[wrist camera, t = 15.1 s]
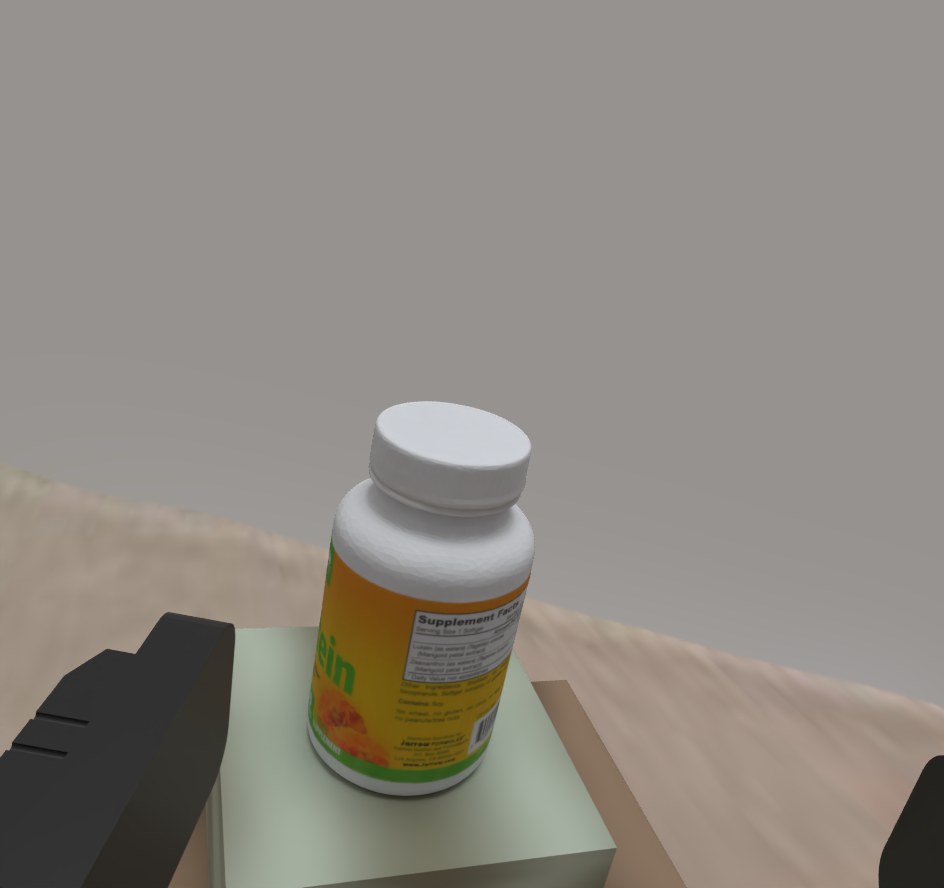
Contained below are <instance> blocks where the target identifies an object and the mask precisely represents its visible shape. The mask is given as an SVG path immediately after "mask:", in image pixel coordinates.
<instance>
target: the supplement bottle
mask: <svg viewBox="0 0 944 888" xmlns="http://www.w3.org/2000/svg"><path fill="white" fill-rule="evenodd" d="M530 454H531V444H530V441H529V439H528V437H527V436H526V434H525V433H524V432H523V431H522V430H521V429H519V428H518V427H517V426H515V425H514V424H512V423H511V422H509V421H507V420H505V419H503V418H500V417H499V416H496V415H494V414H492V413H489V412H486V411H483V410H480V409H476V408H472V407H468V406H463V405H458V404H452V403H443V402H433V401H432V402H431V401H428V402H427V401H423V402H422V401H420V402H409V403H403V404H398V405H395V406H392V407H390V408H388V409H386V410H385V411H383V412H382V413H381V414H380V415H379V416H378V419H377V421H376V424H375V430H374V435H373V441H372V447H371V453H370V463H369V474H370V477H371V478H369V479H367V480H365V481H363V482H361V483H360V484H358V485H356V486H355V487H354V488H353V489H351V490H350V491H349V492H348V493H347V494H346V495H345V497H344V498H343V500H342V501H341V502H340V504H339V506H338V508H337V511H336V514H335V518H334V524H333V529H332V536H331V543H330V550H329V559H328V566H327V573H326V581H325V588H324V596H323V603H322V611H321V618H320V625H319V632H318V639H317V646H316V653H315V660H314V668H313V675H312V682H311V688H310V695H309V704H308V716H307V723H308V731H309V735H310V738H311V741H312V743H313V745H314V747H315V749H316V751H317V752H318V754H319V755H320V757H321V758H322V759H323V760H324V762H325V763H326V764H327V765H328V766H329V767H330V768H332V769H333V770H334V771H335V772H337V773H338V774H339V775H341V776H342V777H344V778H345V779H347V780H349V781H351V782H353V783H354V784H356V785H358V786H361V787H364V788H366V789H369V790H372V791H375V792H379V793H383V794H388V795H400V796H412V795H423V794H429V793H433V792H437V791H441V790H444V789H446V788H449V787H451V786H453V785H455V784H457V783H459V782H460V781H462V780H463V779H464V778H466V777H467V776H468V775H470V774H471V773H472V772H473V771H474V770H475V769H476V768H477V766H478V765H479V764H480V762H481V760H482V759H483V757H484V755H485V753H486V750H487V748H488V745H489V741H490V738H491V735H492V731H493V727H494V723H495V719H496V715H497V711H498V707H499V703H500V699H501V695H502V690H503V686H504V682H505V677H506V673H507V669H508V665H509V660H510V656H511V652H512V648H513V644H514V640H515V636H516V632H517V627H518V623H519V619H520V615H521V611H522V607H523V603H524V599H525V595H526V590H527V586H528V582H529V579H530V574H531V569H532V564H533V559H534V553H535V552H534V551H535V542H534V536H533V531H532V528H531V526H530V524H529V522H528V520H527V518H526V516H525V515H524V514H523V512H522V511H521V510H520V509H519V508H518V506H517V505H516V504H515V503H516V502H517V501H518V499H519V497H520V495H521V493H522V491H523V489H524V487H525V482H526V474H527V469H528V464H529V459H530Z"/></svg>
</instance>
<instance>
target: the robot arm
mask: <svg viewBox="0 0 944 888" xmlns="http://www.w3.org/2000/svg"><path fill="white" fill-rule="evenodd" d="M234 651H235V627H234V625H233V624H231V623H226V622H220V621H215V620H209V619H204V618H198V617H193V616H187V615H182V614H176V613H171V612H167V613H165V614H164V615H163V616H162V617H161V618H160V620H159V621H158V622H157V624H156V625H155V627H154V628H153V630H152V631H151V632H150V634H149V635H148V637H147V638H146V640H145V641H144V643H143V644H142V646H141V647H140V648H139V650H138V651H137V653H136V654H132V653H127V652H121V651H116V650H110V649H106V650H104V651H103V652H101V653H100V654H98V655H96V656H95V657H93V658H92V659H90V660H88V661H87V662H85V663H84V664H82V665H81V666H79V667H77V668H76V669H74V670H73V671H71V672H69V673H68V674H66V675H65V676H64V677H63V678H62V679H61V681H60V682H59V683H58V685H57V686H56V687H55V688H54V690H53V691H52V692H51V693H50V695H49V696H48V697H47V699H46V700H45V701H44V702H43V704H42V705H41V706H40V708H39V709H38V710H37V711H36V716H35V718H34V720H33V719H30V720H29V722H28V723H27V724H26V725H25V727H24V728H23V729H22V731H21V732H20V733H19V734H18V736H17V737H16V738H15V739H14V741H13V742H12V747H11V749H10V750H9V751H8V750H6V751H5V752H4V754H3V755H2V756H1V757H0V888H168V886H169V884H170V882H171V880H172V878H173V875H174V873H175V871H176V869H177V866H178V864H179V862H180V860H181V858H182V855H183V853H184V851H185V849H186V846H187V844H188V842H189V840H190V838H191V835H192V833H193V831H194V829H195V826H196V824H197V822H198V820H199V818H200V815H201V813H202V811H203V809H204V806H205V804H206V802H207V800H208V798H209V795H210V793H211V791H212V789H213V786H214V784H215V781H216V778H217V776H218V773H219V770H220V766H221V763H222V759H223V755H224V751H225V747H226V742H227V736H228V728H229V716H230V703H231V690H232V677H233V664H234ZM879 888H944V755H941V756H936V757H934V758H932V759H931V760H930V761H929V762H928V763H927V764H926V766H925V767H924V769H923V771H922V773H921V775H920V777H919V779H918V781H917V783H916V785H915V787H914V789H913V791H912V793H911V795H910V797H909V799H908V801H907V803H906V805H905V807H904V809H903V811H902V813H901V815H900V817H899V819H898V821H897V823H896V825H895V827H894V829H893V831H892V833H891V835H890V837H889V839H888V841H887V843H886V845H885V847H884V850H883V852H882V855H881V859H880V865H879Z"/></svg>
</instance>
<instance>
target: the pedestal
mask: <svg viewBox="0 0 944 888" xmlns="http://www.w3.org/2000/svg"><path fill="white" fill-rule="evenodd" d="M318 632H319V627H284V628H246V629H235V651H234V664H233V677H232V690H231V703H230V716H229V728H228V736H227V742H226V747H225V751H224V755H223V759H222V763H221V766H220V770H219V773H218V776H217V778H216V781H215V784H214V786H213V789H212V791H211V793H210V795H209V798H208V800H207V802H206V804H205V806H204V809H203V811H202V813H201V815H200V818H199V820H198V822H197V824H196V826H195V829H194V831H193V833H192V835H191V838H190V840H189V842H188V844H187V846H186V849H185V851H184V853H183V855H182V858H181V860H180V862H179V864H178V866H177V869H176V871H175V873H174V875H173V878H172V880H171V882H170V884H169V886H168V888H687V887H686V886H685V884H684V882H683V880H682V879H681V877H680V875H679V873H678V872H677V870H676V868H675V867H674V865H673V863H672V861H671V860H670V858H669V856H668V854H667V853H666V851H665V849H664V848H663V846H662V844H661V842H660V841H659V839H658V837H657V835H656V834H655V832H654V830H653V829H652V827H651V825H650V823H649V822H648V820H647V818H646V816H645V815H644V813H643V811H642V810H641V808H640V806H639V804H638V803H637V801H636V799H635V797H634V796H633V794H632V792H631V791H630V789H629V787H628V785H627V784H626V782H625V780H624V778H623V777H622V775H621V773H620V771H619V770H618V768H617V766H616V765H615V763H614V761H613V759H612V758H611V756H610V754H609V752H608V751H607V749H606V747H605V746H604V744H603V742H602V740H601V739H600V737H599V735H598V733H597V732H596V730H595V728H594V727H593V725H592V723H591V721H590V720H589V718H588V716H587V714H586V713H585V711H584V709H583V708H582V706H581V704H580V702H579V701H578V699H577V697H576V695H575V694H574V692H573V690H572V689H571V687H570V685H569V683H568V682H567V680H558V681H539V682H530V680H529V678H528V676H527V674H526V672H525V671H524V669H523V667H522V665H521V663H520V661H519V659H518V657H517V655H516V653H515V651H514V650H513V648H512V652H511V656H510V660H509V665H508V669H507V673H506V677H505V682H504V686H503V690H502V695H501V699H500V703H499V707H498V711H497V715H496V719H495V723H494V727H493V731H492V735H491V738H490V741H489V745H488V748H487V750H486V753H485V755H484V757H483V759H482V760H481V762H480V764H479V765H478V766H477V768H476V769H475V770H474V771H473V772H472V773H471V774H470V775H468V776H467V777H466V778H464V779H463V780H462V781H460V782H459V783H457V784H455V785H453V786H451V787H449V788H446V789H444V790H441V791H437V792H433V793H429V794H423V795H412V796H400V795H388V794H383V793H379V792H375V791H372V790H369V789H366V788H364V787H361V786H358V785H356V784H354V783H353V782H351V781H349V780H347V779H345V778H344V777H342V776H341V775H339V774H338V773H337V772H335V771H334V770H333V769H332V768H330V767H329V766H328V765H327V764H326V763H325V762H324V760H323V759H322V758H321V757H320V755H319V754H318V752H317V751H316V749H315V747H314V745H313V743H312V741H311V738H310V735H309V731H308V723H307V716H308V704H309V695H310V688H311V682H312V675H313V668H314V660H315V653H316V646H317V639H318Z"/></svg>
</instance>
